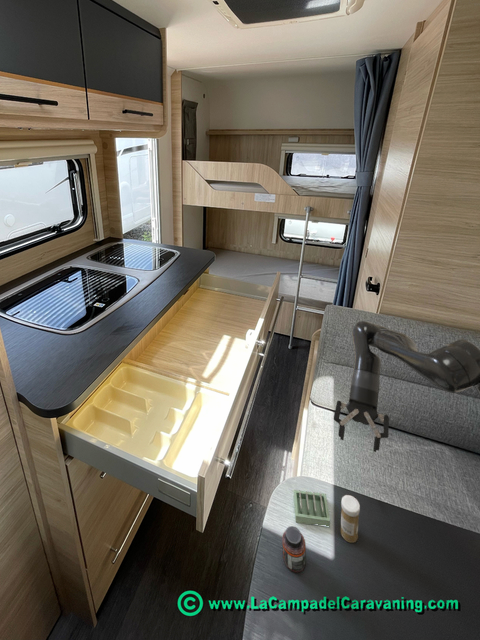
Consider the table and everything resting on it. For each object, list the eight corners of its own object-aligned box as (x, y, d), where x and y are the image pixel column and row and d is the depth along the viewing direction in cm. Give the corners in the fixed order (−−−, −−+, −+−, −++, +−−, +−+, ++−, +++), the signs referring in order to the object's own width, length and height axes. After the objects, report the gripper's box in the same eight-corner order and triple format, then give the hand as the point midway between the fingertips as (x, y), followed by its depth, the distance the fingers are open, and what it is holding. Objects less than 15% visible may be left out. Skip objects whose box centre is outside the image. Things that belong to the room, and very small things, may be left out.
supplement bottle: (282, 545, 92) (281, 519, 88) (304, 548, 90) (304, 522, 86) (283, 571, 86) (282, 545, 82) (307, 575, 85) (306, 549, 81)
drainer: (325, 500, 101) (325, 493, 100) (330, 527, 94) (330, 520, 93) (293, 495, 103) (293, 489, 102) (295, 522, 97) (295, 515, 96)
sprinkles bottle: (361, 537, 91) (364, 506, 86) (350, 547, 89) (352, 515, 85) (347, 521, 95) (349, 491, 90) (336, 530, 93) (337, 499, 89)
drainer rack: (320, 502, 100) (321, 492, 99) (323, 521, 95) (323, 511, 94) (299, 499, 102) (299, 490, 100) (300, 517, 97) (300, 508, 96)
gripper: (337, 379, 99) (329, 436, 94) (392, 394, 91) (386, 457, 86) (340, 382, 105) (333, 435, 100) (391, 395, 97) (386, 454, 92)
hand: (357, 445), depth 93 cm, fingers open, 8 cm apart
